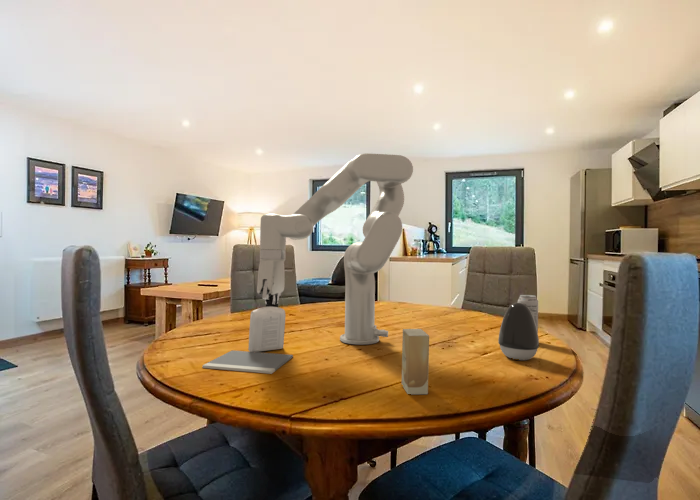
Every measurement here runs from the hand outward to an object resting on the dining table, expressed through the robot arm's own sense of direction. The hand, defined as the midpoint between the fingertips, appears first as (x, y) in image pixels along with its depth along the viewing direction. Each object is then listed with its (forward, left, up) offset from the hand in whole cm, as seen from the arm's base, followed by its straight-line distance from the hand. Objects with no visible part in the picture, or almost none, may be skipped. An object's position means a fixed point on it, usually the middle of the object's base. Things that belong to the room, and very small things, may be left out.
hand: (271, 317), depth 113 cm
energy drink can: (-77, -26, -9) cm, 82 cm away
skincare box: (-43, +25, -9) cm, 51 cm away
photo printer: (0, +4, -9) cm, 10 cm away
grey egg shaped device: (-70, -6, -9) cm, 71 cm away
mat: (-1, +16, -9) cm, 18 cm away
